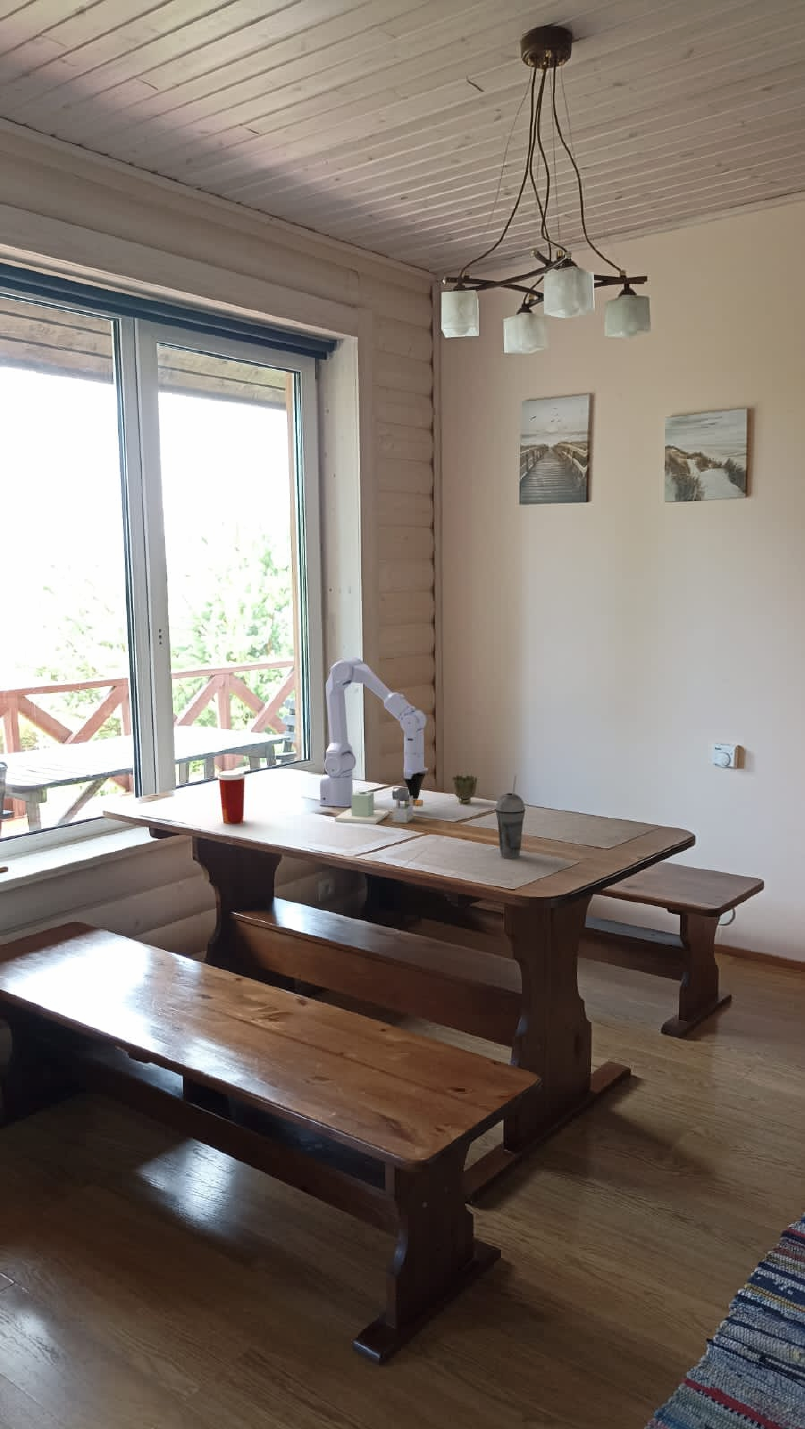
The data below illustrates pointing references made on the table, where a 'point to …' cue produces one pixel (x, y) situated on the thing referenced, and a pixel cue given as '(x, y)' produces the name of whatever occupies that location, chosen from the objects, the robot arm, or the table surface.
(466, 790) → the cup
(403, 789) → the press lever
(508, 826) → the beverage cup
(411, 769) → the robot arm
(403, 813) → the white square planter
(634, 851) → the table surface
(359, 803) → the block
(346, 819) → the plate
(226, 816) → the paper cup
